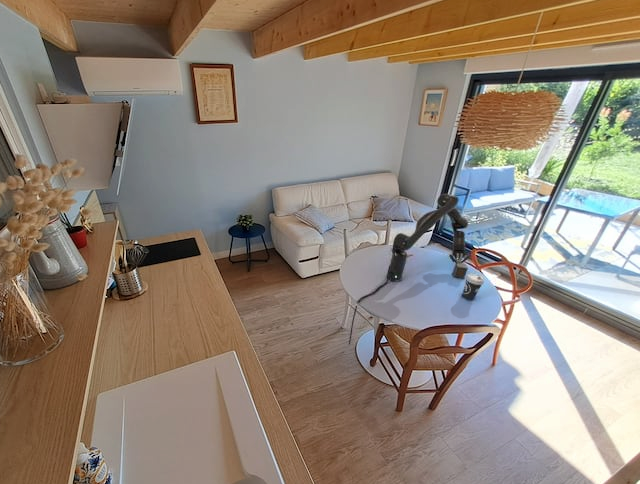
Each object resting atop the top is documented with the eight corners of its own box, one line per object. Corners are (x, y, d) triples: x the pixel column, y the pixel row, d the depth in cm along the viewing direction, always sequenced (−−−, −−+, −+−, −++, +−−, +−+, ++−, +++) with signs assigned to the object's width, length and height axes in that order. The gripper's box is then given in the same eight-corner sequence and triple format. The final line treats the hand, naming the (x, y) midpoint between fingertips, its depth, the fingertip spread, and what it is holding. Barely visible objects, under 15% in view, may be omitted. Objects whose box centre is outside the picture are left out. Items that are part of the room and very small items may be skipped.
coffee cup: (470, 303, 175) (478, 283, 168) (456, 294, 183) (463, 275, 175) (479, 298, 179) (488, 279, 172) (465, 290, 186) (472, 271, 179)
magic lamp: (412, 264, 215) (415, 252, 209) (387, 262, 218) (390, 249, 213) (410, 260, 221) (414, 247, 215) (386, 257, 224) (389, 245, 219)
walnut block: (452, 273, 204) (455, 262, 200) (461, 274, 203) (465, 263, 199) (454, 277, 199) (458, 267, 195) (463, 279, 198) (467, 268, 194)
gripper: (450, 242, 204) (450, 265, 200) (471, 244, 201) (471, 268, 197) (447, 245, 211) (446, 268, 207) (466, 247, 208) (466, 270, 204)
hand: (458, 268), depth 202 cm, fingers closed
